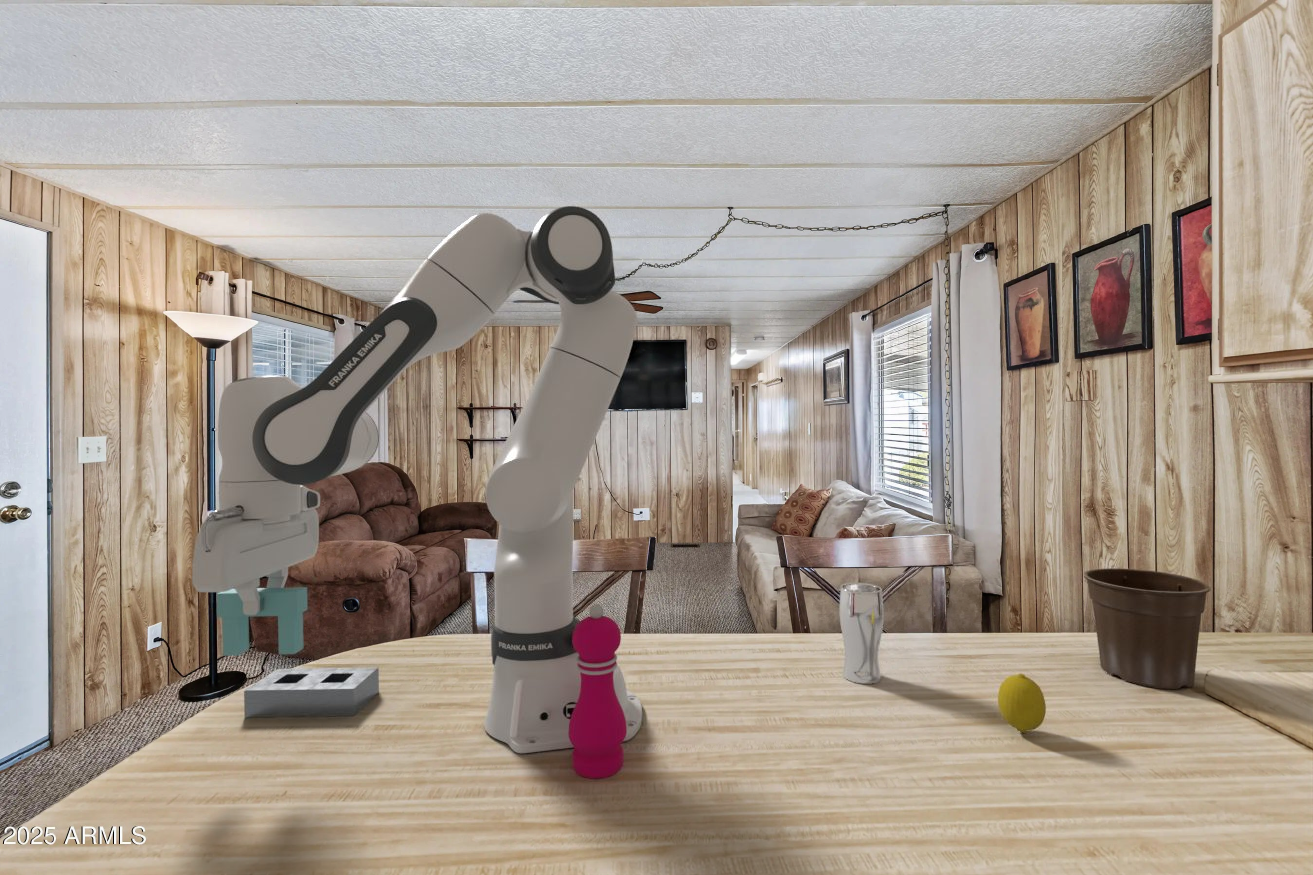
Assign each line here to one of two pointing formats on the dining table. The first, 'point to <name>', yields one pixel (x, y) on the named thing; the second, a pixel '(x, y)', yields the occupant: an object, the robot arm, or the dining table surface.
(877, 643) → the beer glass
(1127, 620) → the plant pot
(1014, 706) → the lemon
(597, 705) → the pepper mill
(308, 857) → the dining table surface
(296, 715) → the slotted base block
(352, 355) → the robot arm
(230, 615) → the teal arch block
